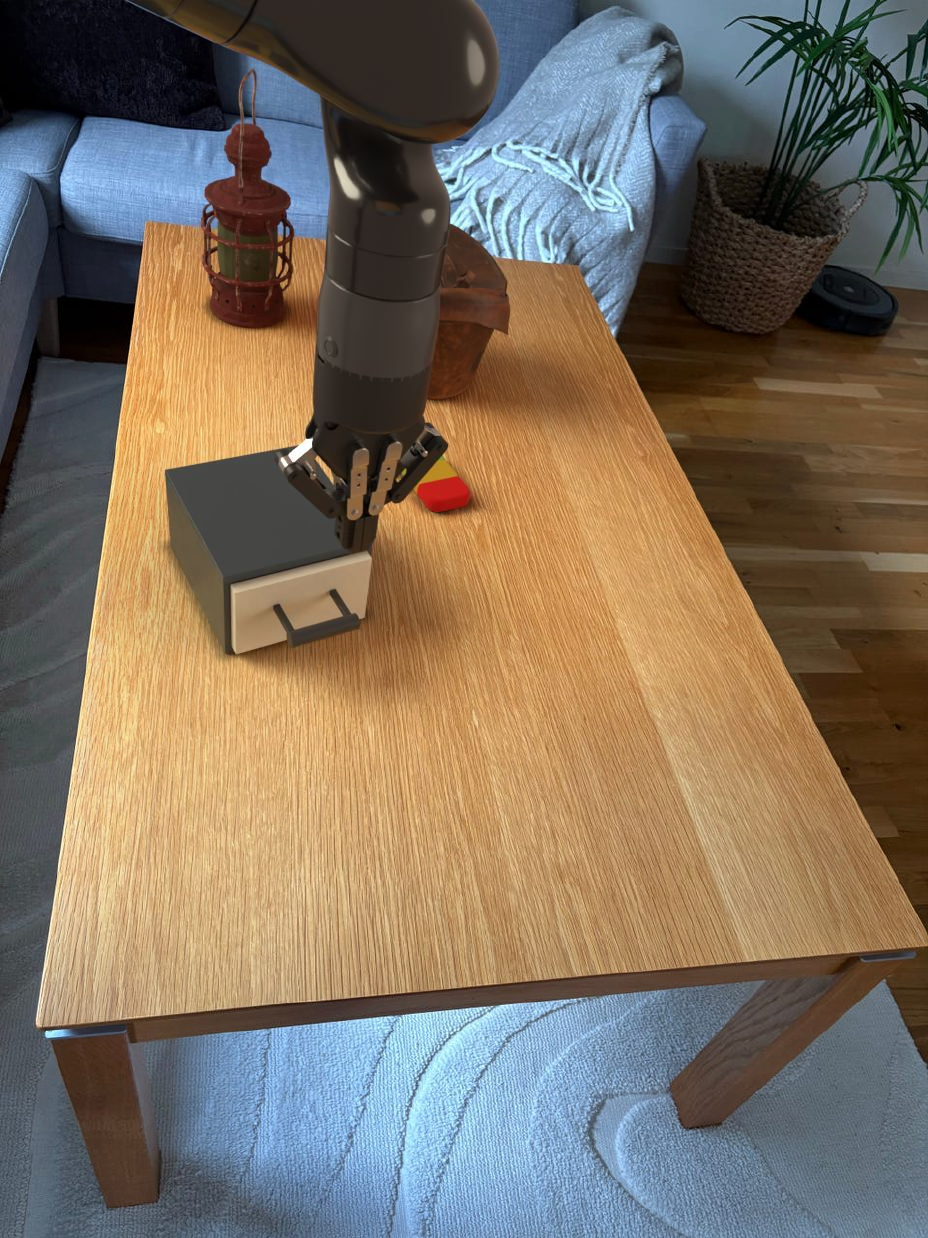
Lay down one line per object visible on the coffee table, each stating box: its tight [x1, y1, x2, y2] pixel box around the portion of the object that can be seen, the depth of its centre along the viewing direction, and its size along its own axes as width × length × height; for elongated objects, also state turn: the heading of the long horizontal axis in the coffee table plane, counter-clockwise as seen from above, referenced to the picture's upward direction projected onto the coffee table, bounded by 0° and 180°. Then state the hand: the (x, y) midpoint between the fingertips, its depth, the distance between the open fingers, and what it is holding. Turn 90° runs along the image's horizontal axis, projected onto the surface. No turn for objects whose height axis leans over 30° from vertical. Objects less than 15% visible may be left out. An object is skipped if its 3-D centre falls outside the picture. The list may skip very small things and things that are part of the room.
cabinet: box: [164, 444, 374, 655], centre depth 90 cm, size 16×14×10 cm
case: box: [427, 223, 511, 400], centre depth 119 cm, size 18×20×18 cm
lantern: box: [200, 68, 296, 329], centre depth 119 cm, size 12×12×30 cm
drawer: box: [230, 551, 373, 655], centre depth 87 cm, size 20×13×8 cm
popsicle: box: [400, 455, 471, 513], centre depth 109 cm, size 6×15×2 cm, turn 29°
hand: (353, 545), depth 71 cm, fingers closed
